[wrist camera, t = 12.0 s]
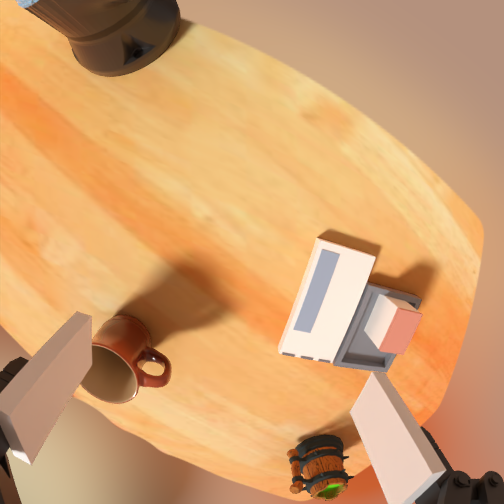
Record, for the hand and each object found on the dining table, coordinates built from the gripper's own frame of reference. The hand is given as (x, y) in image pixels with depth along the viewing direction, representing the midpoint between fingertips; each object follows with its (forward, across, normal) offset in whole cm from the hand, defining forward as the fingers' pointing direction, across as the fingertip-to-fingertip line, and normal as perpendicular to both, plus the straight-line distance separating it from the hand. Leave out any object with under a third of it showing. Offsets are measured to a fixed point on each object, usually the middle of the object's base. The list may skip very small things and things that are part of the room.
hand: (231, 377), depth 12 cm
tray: (+25, +22, -7) cm, 34 cm away
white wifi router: (+25, +13, -5) cm, 29 cm away
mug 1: (+25, -10, -16) cm, 32 cm away
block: (+25, +22, -5) cm, 34 cm away
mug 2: (+25, +22, -34) cm, 48 cm away
